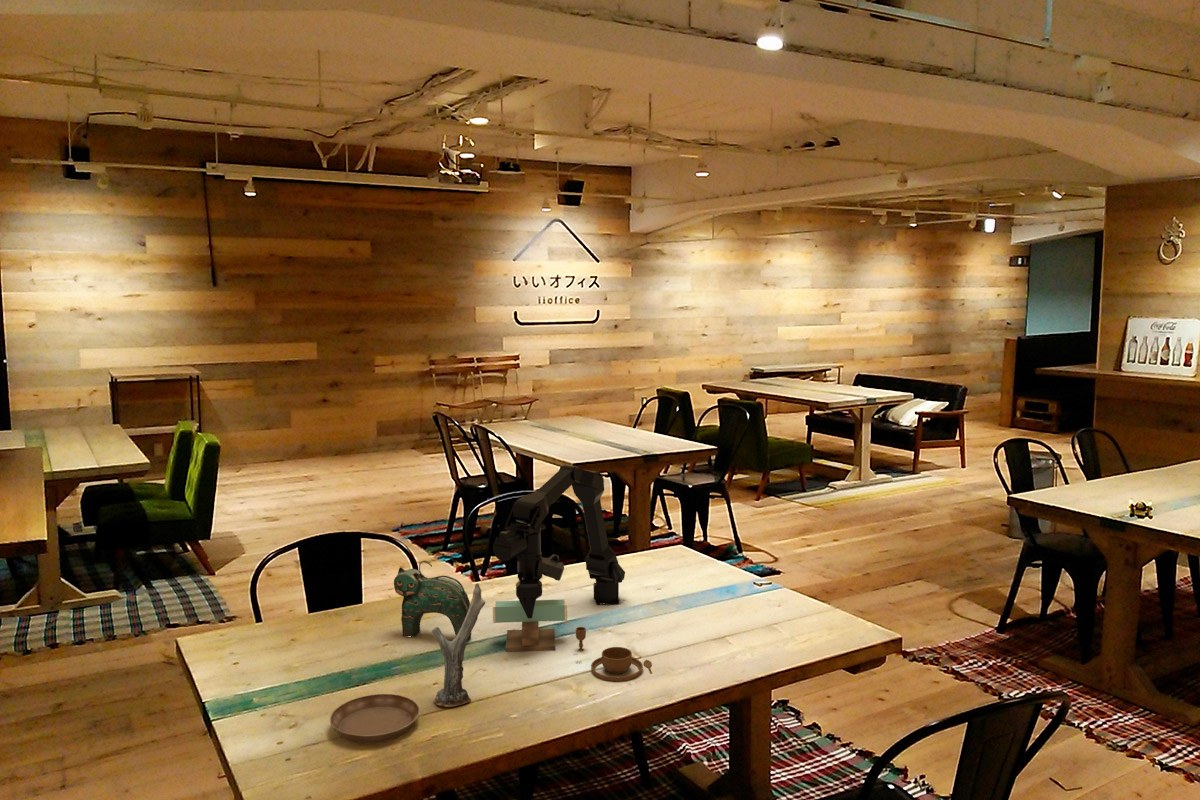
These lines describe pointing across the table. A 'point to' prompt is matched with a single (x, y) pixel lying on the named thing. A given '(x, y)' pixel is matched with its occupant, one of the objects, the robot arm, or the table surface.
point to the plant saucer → (374, 718)
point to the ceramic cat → (430, 599)
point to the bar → (542, 611)
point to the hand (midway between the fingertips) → (530, 611)
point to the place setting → (613, 660)
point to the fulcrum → (530, 638)
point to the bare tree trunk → (457, 655)
